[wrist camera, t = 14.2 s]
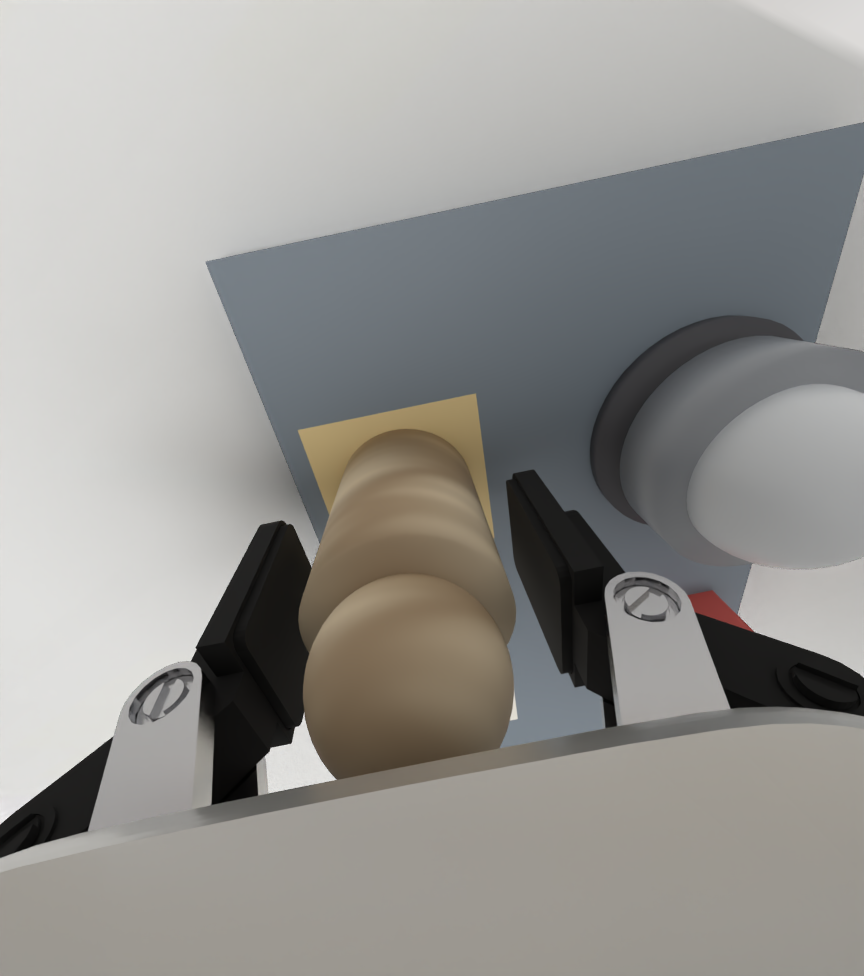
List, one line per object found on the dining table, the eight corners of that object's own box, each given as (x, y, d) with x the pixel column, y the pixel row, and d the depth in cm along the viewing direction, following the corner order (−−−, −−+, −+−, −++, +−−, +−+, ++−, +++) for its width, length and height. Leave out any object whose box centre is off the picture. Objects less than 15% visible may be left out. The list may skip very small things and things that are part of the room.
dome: (850, 313, 11) (1140, 338, 7) (789, 505, 14) (959, 606, 10) (622, 360, 11) (765, 415, 7) (611, 541, 14) (705, 656, 10)
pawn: (466, 419, 12) (579, 661, 4) (476, 535, 14) (567, 847, 6) (327, 439, 12) (184, 717, 4) (357, 551, 14) (297, 884, 6)
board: (835, 133, 11) (1210, 15, 6) (697, 688, 23) (780, 801, 18) (223, 262, 11) (85, 254, 6) (410, 745, 23) (414, 872, 18)
